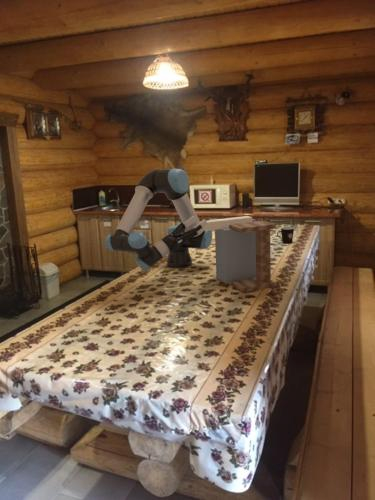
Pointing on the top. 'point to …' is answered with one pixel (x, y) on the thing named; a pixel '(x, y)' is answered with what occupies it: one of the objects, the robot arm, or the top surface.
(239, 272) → the slate podium
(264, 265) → the walnut stand
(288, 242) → the coffee mug
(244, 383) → the top surface
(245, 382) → the top surface
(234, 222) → the pale wooden bar
